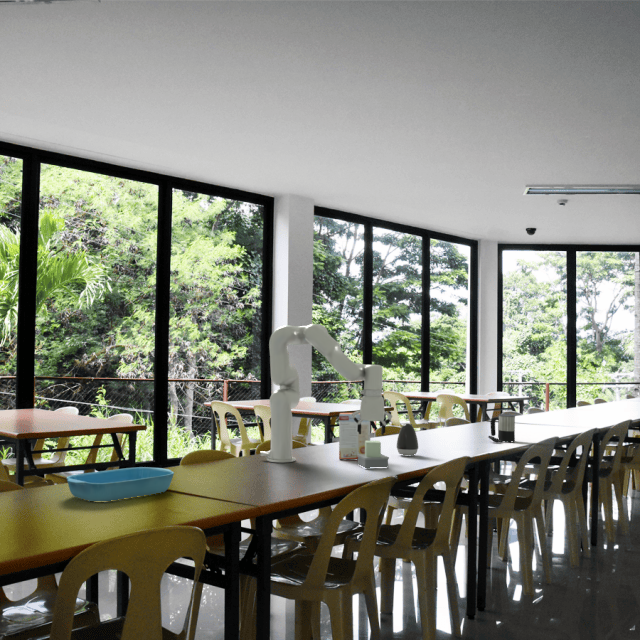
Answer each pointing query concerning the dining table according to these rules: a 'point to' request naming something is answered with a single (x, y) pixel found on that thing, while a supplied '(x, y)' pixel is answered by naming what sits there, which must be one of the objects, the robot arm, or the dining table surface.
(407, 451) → the dark grey rounded piece
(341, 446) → the cracker box
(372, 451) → the green cube
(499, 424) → the milk frother
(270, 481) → the dining table surface
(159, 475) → the casserole dish
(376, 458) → the grey storage box
